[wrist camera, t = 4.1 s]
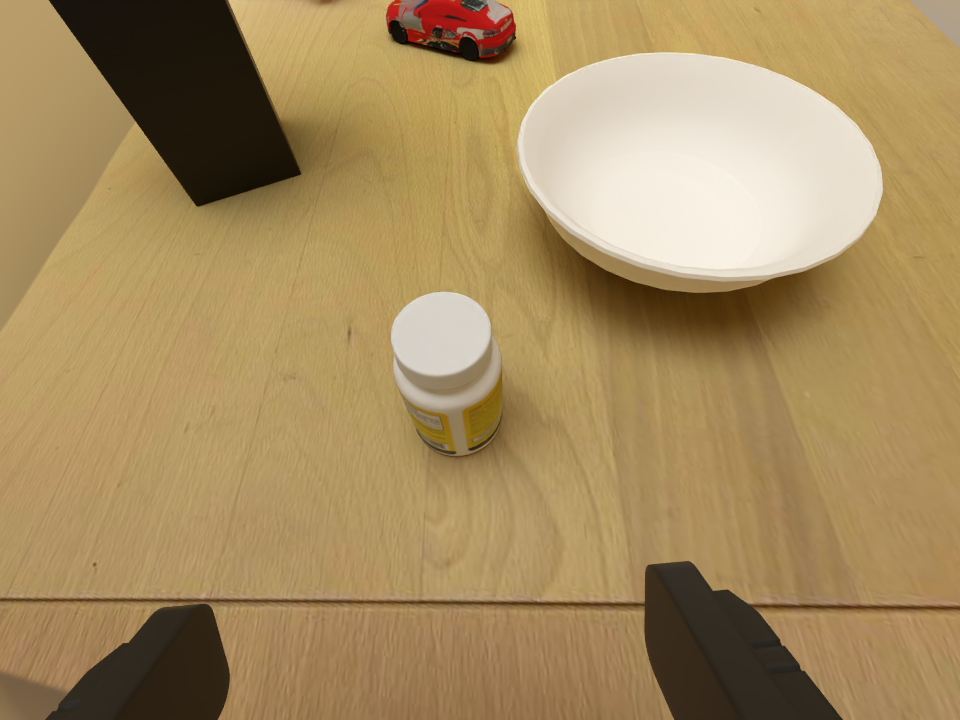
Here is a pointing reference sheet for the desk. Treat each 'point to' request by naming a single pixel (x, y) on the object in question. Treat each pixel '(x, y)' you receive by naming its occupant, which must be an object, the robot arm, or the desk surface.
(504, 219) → the desk surface
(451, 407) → the supplement bottle
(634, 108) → the bowl
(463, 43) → the race car
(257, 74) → the stand
